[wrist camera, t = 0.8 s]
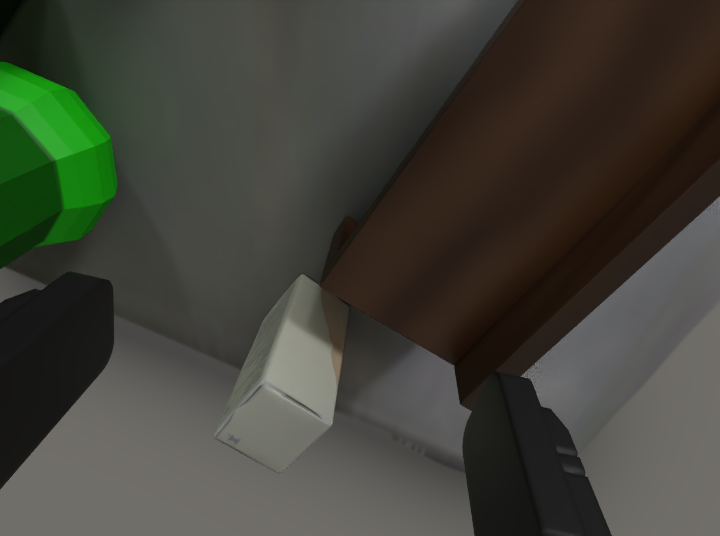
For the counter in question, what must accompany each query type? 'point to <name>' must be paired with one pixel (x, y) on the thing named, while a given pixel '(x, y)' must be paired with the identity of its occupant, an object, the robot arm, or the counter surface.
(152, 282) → the counter surface
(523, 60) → the shelf
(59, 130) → the plastic bottle
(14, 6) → the phone stand
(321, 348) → the box
